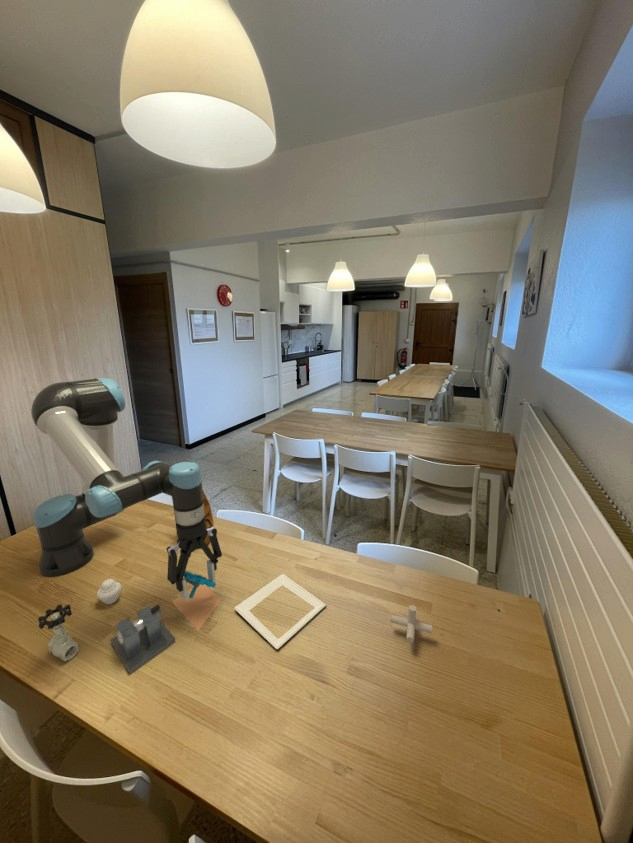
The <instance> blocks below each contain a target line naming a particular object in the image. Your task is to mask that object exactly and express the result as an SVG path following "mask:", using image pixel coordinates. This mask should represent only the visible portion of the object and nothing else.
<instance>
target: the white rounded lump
mask: <svg viewBox="0 0 633 843" xmlns="http://www.w3.org/2000/svg"><path fill="white" fill-rule="evenodd" d="M121 591H122V584H121V583H120V582H118V581H116V580H115V579H113V578H107V579H106V580H104V581H103V582H102V583H101V584H100V587H99V589H98V590H97V593H96V595H97V598H98V599H99V601H101V602H102V603H104V604H105V605H111V604H114V603H115V602H116V601H117V600H118V599H119V597H120V595H121V594H120V593H121Z"/></svg>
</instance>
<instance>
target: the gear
mask: <svg viewBox="0 0 633 843" xmlns="http://www.w3.org/2000/svg"><path fill="white" fill-rule="evenodd" d="M183 578H184V579H185V580H186V584H187V583H188V584H190V585H192V586H193V587H192V588H191V589H192V591H191V593H190V596H189V598H191V599H192V598H193V596H194V593H195V591H196V589H197V587H199V585H205V586H207V587H208V588H216V585H217V584H216V583H215V582H212V580H209V579H208V578H207V577H205V576H203V575H201V574H196V573H192V572H190V571H188V570H185V573H184V577H183Z"/></svg>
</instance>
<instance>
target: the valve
mask: <svg viewBox="0 0 633 843" xmlns="http://www.w3.org/2000/svg"><path fill="white" fill-rule="evenodd" d="M72 614H73V612H72V608H71V604H67V605H65V606H64V607H63V605H62V604H58V605H57V606H56V607H55V608H54V609H51V608H49V609H46V610H45V615H41V616H39V617H38V618H37V621H38V627H39V628H38V629H40V630H43V629H44V628H45V626H47V630H53V633H54V635H53V636H52V638H51V639H50V640H49V641H48V643H47V648H48V651H49V652H51V653H52V654H53V656H54V657H56V658H59V659H61V660H62V661H64V662H67V661H68V660H72V659H73V658H74V657H75V656H76V654H78V652H79V650H80V648H79V644H78V642H76V641H74V639H73V638H72V637H70V636H69V632H68V630H67V629H65V628H64V623H65V622H66V618H65V617H66V616H68V617H71V616H72ZM49 617H50V620H48V618H49Z"/></svg>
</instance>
